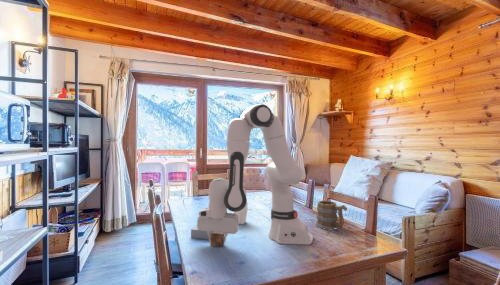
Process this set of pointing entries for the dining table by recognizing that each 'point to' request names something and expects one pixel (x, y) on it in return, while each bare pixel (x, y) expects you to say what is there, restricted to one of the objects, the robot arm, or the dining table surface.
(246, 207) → the cup
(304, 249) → the dining table surface
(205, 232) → the plinth
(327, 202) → the tankard
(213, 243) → the walnut cube
